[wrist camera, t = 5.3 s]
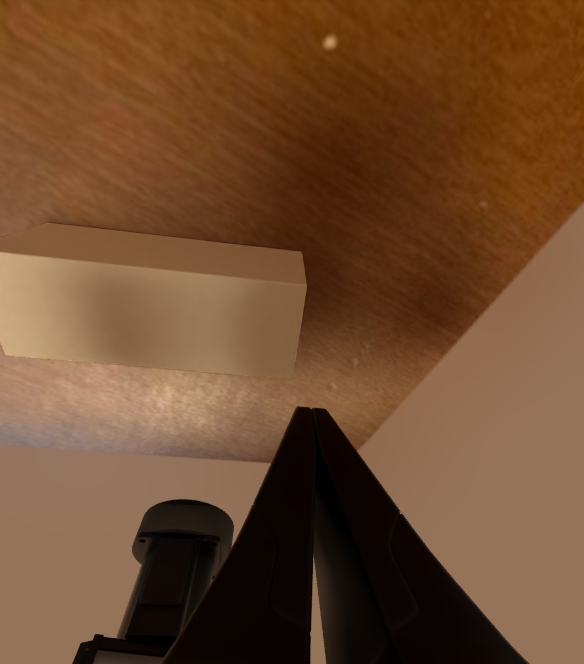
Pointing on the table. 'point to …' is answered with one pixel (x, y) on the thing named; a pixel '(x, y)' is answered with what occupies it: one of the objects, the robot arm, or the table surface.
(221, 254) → the cream block
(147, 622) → the robot arm
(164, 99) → the table surface
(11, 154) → the table surface
